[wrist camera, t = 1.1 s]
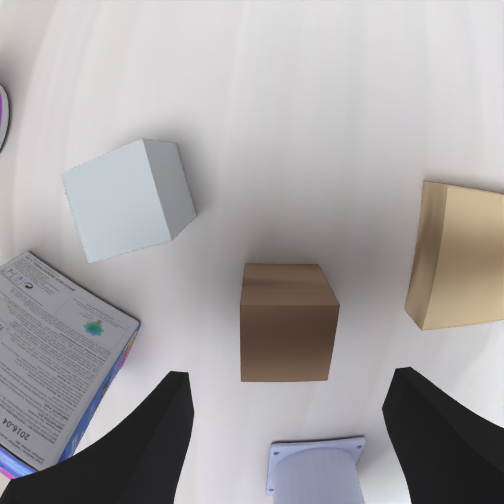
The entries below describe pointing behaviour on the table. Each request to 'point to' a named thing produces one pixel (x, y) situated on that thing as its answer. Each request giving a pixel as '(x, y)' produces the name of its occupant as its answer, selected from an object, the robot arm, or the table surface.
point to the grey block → (129, 198)
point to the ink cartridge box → (52, 363)
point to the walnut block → (286, 323)
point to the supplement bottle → (3, 114)
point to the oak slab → (458, 258)
